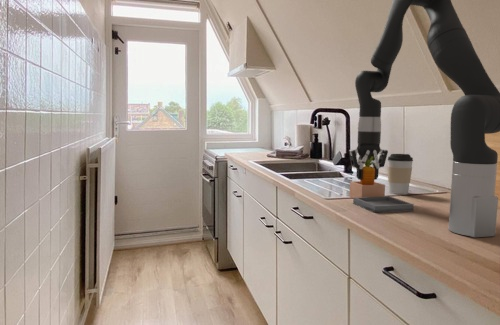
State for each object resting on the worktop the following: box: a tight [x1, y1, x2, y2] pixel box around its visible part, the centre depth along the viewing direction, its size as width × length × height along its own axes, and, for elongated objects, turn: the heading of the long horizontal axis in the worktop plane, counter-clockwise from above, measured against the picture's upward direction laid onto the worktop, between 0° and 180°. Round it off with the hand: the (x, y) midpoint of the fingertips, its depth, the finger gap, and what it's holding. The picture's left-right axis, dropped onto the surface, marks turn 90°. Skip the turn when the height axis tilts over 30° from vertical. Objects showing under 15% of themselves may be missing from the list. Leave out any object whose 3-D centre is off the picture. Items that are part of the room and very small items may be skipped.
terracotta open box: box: [348, 180, 386, 199], centre depth 134 cm, size 9×9×6 cm
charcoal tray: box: [352, 195, 414, 214], centre depth 121 cm, size 13×13×2 cm
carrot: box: [359, 156, 375, 185], centre depth 133 cm, size 5×5×15 cm
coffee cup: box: [386, 153, 414, 195], centre depth 145 cm, size 9×9×15 cm
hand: (367, 179), depth 133 cm, fingers closed on carrot, 5 cm apart
